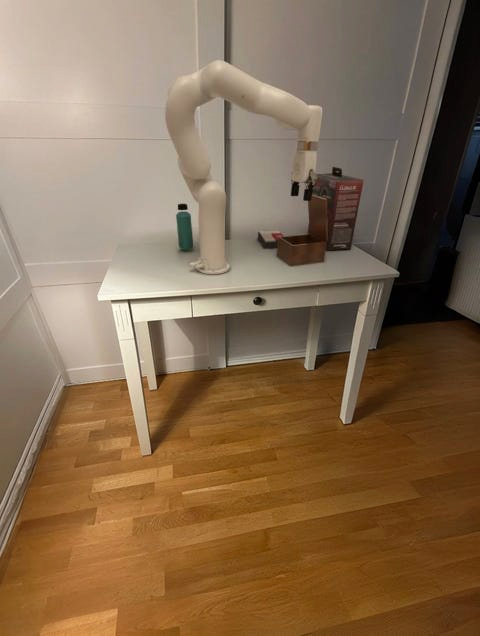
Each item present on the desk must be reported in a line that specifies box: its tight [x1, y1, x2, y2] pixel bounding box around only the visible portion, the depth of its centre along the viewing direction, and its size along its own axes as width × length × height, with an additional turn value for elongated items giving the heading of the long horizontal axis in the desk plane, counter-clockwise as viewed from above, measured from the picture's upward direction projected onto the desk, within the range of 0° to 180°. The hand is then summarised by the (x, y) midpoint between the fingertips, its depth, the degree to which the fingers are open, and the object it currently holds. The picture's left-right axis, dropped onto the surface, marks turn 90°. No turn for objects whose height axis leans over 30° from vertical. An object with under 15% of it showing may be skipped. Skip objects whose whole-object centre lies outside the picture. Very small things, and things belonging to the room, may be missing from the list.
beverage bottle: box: [175, 203, 194, 251], centre depth 134 cm, size 6×7×20 cm
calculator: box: [257, 230, 284, 249], centre depth 149 cm, size 11×4×15 cm
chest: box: [276, 233, 327, 267], centre depth 130 cm, size 16×13×8 cm
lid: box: [307, 195, 333, 241], centre depth 126 cm, size 16×13×6 cm
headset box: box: [307, 166, 365, 251], centre depth 143 cm, size 25×12×33 cm, turn 12°
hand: (300, 198), depth 119 cm, fingers open, 9 cm apart
